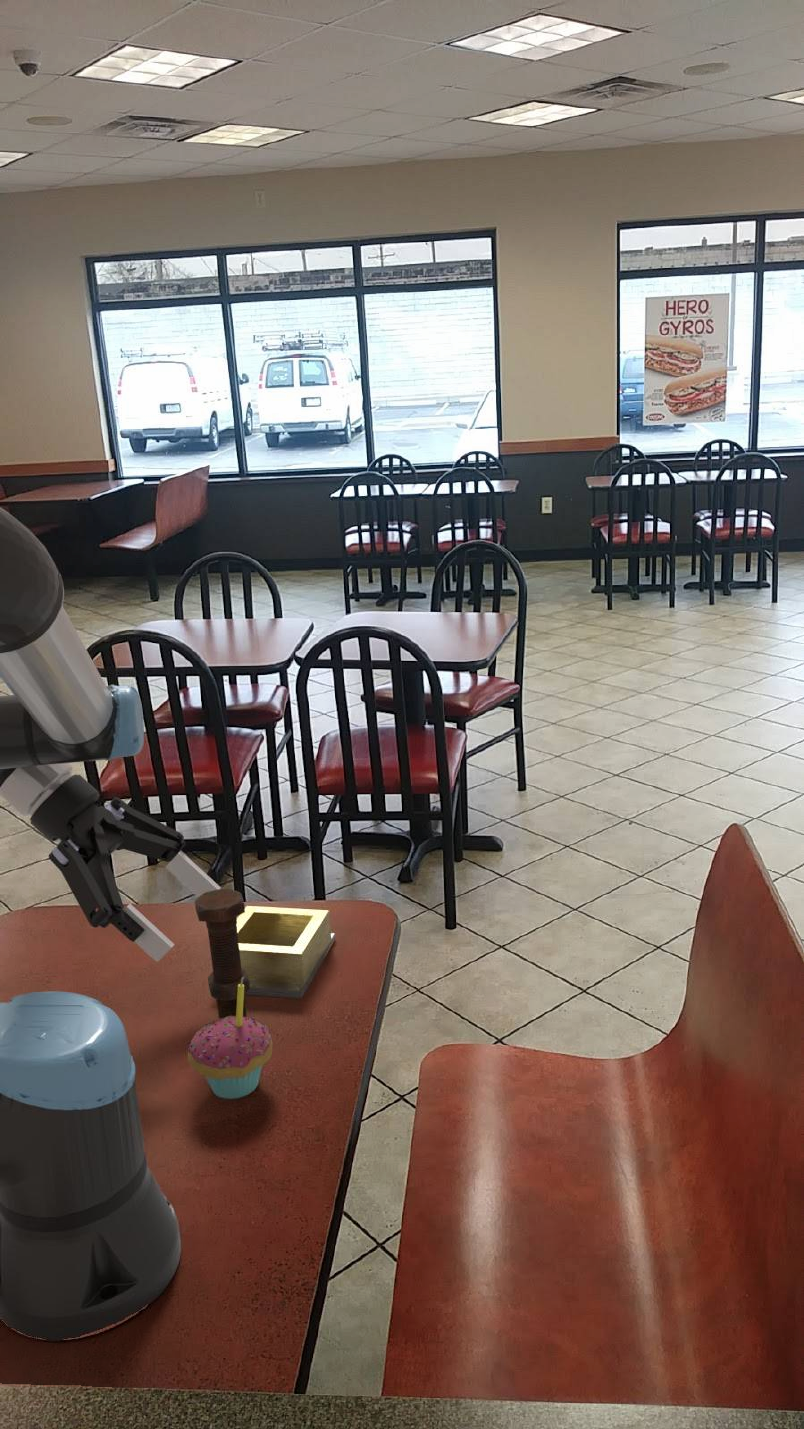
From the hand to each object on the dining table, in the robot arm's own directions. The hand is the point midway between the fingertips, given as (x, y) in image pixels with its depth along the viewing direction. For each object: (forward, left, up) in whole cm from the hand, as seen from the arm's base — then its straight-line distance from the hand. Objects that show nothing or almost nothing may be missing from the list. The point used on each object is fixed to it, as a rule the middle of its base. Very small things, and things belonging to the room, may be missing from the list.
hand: (191, 923), depth 125 cm
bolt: (-1, -4, -11) cm, 12 cm away
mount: (+11, -5, -11) cm, 16 cm away
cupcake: (-13, -9, -11) cm, 20 cm away
